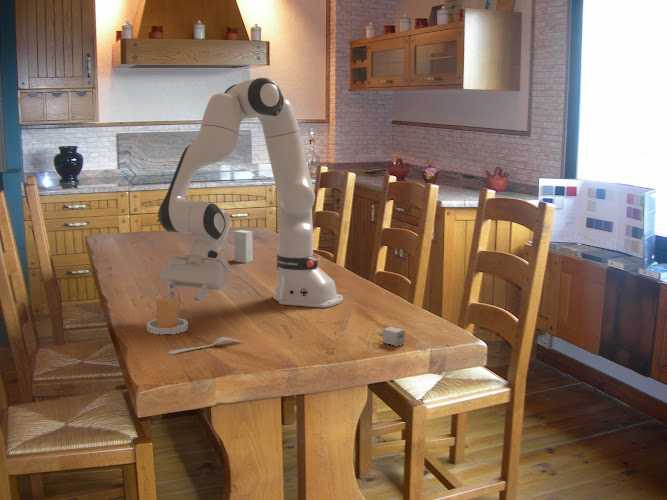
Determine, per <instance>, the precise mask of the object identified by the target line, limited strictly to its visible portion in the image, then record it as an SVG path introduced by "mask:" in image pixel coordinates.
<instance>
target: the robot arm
mask: <svg viewBox="0 0 667 500" xmlns="http://www.w3.org/2000/svg"><path fill="white" fill-rule="evenodd" d="M255 118H257V119H258V121H259V122H260V124H261V127H262V132H263V136H264V140H265V145H266V146H265V147H266V150H267V154H268V158H269V163H270V166H271V171H272V175H273V179H274V184H275V187H276V188H275V189H276V191H277V225H278V226H277V230H278V232H277V233H278V234H277V235H278V236H277V237H278V243H277V244H278V245H277V246H278V249H277V251H278V252H277V254H276V270H277V277H276V278H277V279H276V283H275V290H274V294H273V296H272V297H273V299H274V300H275V301H277V303H278V304H279V305H285V306H286V305H287V306H297V307H299V306H300V307H301V306H302V307H310V308H311V307H312V308H330V307H333V306H337V305H338V304H340V303H341V302H343V300H344V296H343V295H342V294H339V293H337V288H336V287H337V286H336V282H335V280H334V279H332V278H331V277H330V276H329V275H328V274H327V273H326V272H325V271H323V270H322V269H321V268H320V267H319V265H318V264H319V262H320V261H321V260H320V259H321V257H318V258H317V257H316V256H315V254H314V225H313V206H314V204H315V202H316V201H315V200H316V194H315V193H316V192H315V190H314V185H313V180H312V177H311V172H310V169H309V165H308V161H307V158H306V154H305V150H304V149H305V148H304V145H303V140H302V136H301V131H300V127H299V123H298V120H297V117H296V114H295V111H294V109H293V106H292V104H291V102H290V101H289V100H288V99H286V98H284V96H283V94H282V91H281V89H280V86H279V85H278V84H277V82H275V81H274V80H273V79H271V78H266V77H258V78H254V79H253V78H252V79H247V80H243V81H242V82H239V83H236V84H233V85H231V86H228V88H227V89H225V91H224V92H221V93H216V94H213V95H212V96H211V97H210V98H209V101H208V102H207V105H206V107H205V110H204V113H203V117H202V120H201V124H200V127H199V132H198V134H197V136H196V138H195V139H194V140H193V141H192V143H191V144H189V145H187V146H186V147H185V148H184V151H183V152H182V155H181V156H180V159H179V161H178V162H177V163H178V164H177V166H176V169H175V172H174V174H173V177H172V180H171V182H170V185H169V187H168V190H167V193H166V194H165V196H164V198H163V200H162V202H161V204H160V205H159V208H158V211H157V219H158V222H159V224H160V225H161V226H162V227H163V229H164V230H165V231H166V232H168V233H186V234H190V235H194V236H195V237H194V238H193V240H191V242H190V244H189V246H188V249H187V251H186V253H185V255H183V256H182V255H174V256H172V257H170V258H169V259H168V261H167V262H166V264H165V265H164V267H163V268H162V269H161V271H160V274H159V279H160V281H161V282H162V283H163V284H164V285H166V287H167V291H166V293H165V296H166V297H173V298H175V295H176V293H175V292H174V289H175V288H176V286H177V287H178V286H179V287H184V288H185V287H188V288H195V289H200V290H199V291H198V292H195V294H194V296H193V299H194V300H195V302H201V301H202V300H203V297H205V296H206V295H207V294H208V293H209V292H210V290H214V291H220V290H221V289H223V287H224V285H225V282H226V280H227V279H228V278H227V277H228V270H229V269H230V267H231V266H230V263H229V262H228V260H227V259H226V258H225V257H224V255H223V254H222V253H221V252H220V251H221V248H222V246H224V244H225V242H226V240H227V237H228V233H229V231H230V226H231V221H232V219H231V216H230V214H229V212H228V211H226V210H225V209H224V208H222V207H219V206H218V205H217V204H215V203H213V202H207V201H202V200H201V201H200V200H193V199H186V195H187V193H188V190H189V189H190V188H189V187H190V185H191V182H192V180H193V177H194V175H195V174H196V173H197V172H198V171H199V170H200V169H201V168H204V167H206V166H208V165H213V164H217V163H220V162H223V161H224V160H225V161H226V160H227V159H228V158H229V157H230V156H231V155H233V153H234V152H235V149H236V146H237V143H238V138H239V132H240V126H241V123H242V121H243V120H245V119H255Z"/></svg>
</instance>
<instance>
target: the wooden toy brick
mask: <svg viewBox="0 0 667 500" xmlns="http://www.w3.org/2000/svg"><path fill="white" fill-rule="evenodd" d="M155 300H156V302H155V305H156V319H157V328H173V327H176V326H178V318H179V317H178V298H177V297H167V296H166V295H165V296H163V297H160V298H157V299H155Z"/></svg>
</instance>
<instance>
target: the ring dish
mask: <svg viewBox="0 0 667 500" xmlns="http://www.w3.org/2000/svg"><path fill="white" fill-rule="evenodd" d="M188 328H189V322H188V320H186V319H184V318H182V317H181V318H180V317H178V326H176V327H173V328H157V318H154V319H152V320H149V321H147V323H146V331H147V332H148V333H150V334H152V333H153V334H152V335H158V334H160V336H163V335H164V334H170V335H171V334H172V335H177V334H181V333H180V332H182V333H184V332H186V331H188ZM176 333H177V334H176ZM162 334H163V335H162ZM164 336H165V335H164Z"/></svg>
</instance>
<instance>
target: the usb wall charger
mask: <svg viewBox="0 0 667 500" xmlns="http://www.w3.org/2000/svg"><path fill="white" fill-rule="evenodd" d="M376 334H377V336H379V337H382V343H383V344H385V343H386V344H385V345H388V344H391V345H390V346H392V345H394V346H393V347H395V346H398V345H400V344H403V343H404V344H405V343H406V330H405V329H401V328H397V327H393V326H388V327H386V328H384V329H383V330H382V332H377V333H376ZM404 344H403V345H404ZM400 346H401V345H400ZM398 347H399V346H398Z"/></svg>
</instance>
